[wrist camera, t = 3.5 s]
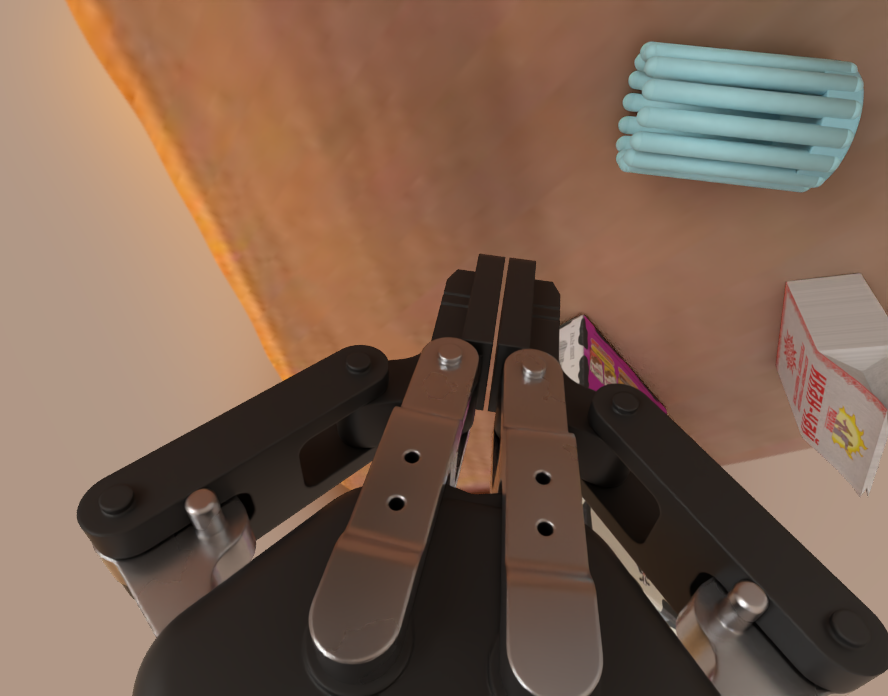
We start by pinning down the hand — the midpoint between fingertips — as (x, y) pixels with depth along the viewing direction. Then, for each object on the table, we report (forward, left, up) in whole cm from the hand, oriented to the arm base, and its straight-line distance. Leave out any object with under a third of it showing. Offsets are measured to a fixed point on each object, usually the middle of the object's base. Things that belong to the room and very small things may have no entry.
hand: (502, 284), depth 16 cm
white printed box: (+21, -9, -17) cm, 28 cm away
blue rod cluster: (+9, +2, -17) cm, 19 cm away
